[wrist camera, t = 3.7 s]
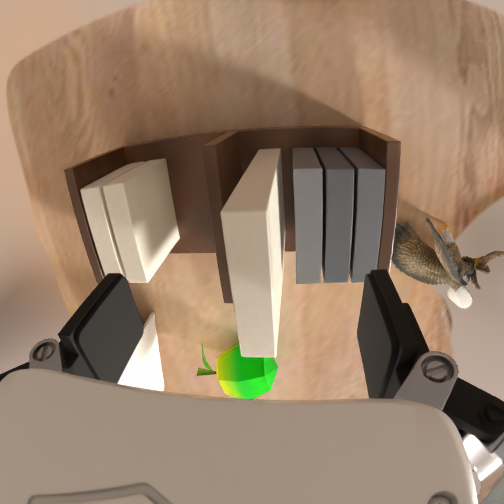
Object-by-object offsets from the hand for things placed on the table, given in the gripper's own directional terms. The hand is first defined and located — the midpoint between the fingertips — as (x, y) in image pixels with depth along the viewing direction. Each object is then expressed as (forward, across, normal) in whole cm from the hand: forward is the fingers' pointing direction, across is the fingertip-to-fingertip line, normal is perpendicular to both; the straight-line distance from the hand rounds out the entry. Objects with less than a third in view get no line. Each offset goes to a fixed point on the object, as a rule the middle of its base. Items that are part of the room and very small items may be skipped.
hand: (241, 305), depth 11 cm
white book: (+14, 0, 0) cm, 14 cm away
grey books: (+13, -5, 0) cm, 14 cm away
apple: (+15, +4, +18) cm, 24 cm away
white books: (+14, +9, 0) cm, 17 cm away
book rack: (+14, +2, 0) cm, 15 cm away
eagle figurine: (+14, -15, +5) cm, 21 cm away
